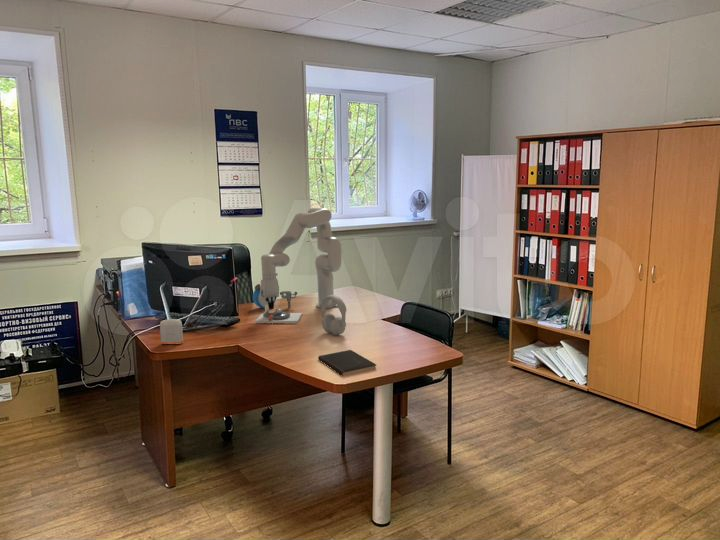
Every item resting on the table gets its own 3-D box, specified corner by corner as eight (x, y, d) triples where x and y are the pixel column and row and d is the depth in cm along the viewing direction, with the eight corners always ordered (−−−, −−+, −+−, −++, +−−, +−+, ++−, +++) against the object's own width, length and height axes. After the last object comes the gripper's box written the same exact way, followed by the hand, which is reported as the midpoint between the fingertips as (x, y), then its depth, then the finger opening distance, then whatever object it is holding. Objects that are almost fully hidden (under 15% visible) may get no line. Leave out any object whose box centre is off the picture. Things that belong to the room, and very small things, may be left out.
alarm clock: (257, 310, 328) (255, 285, 326) (252, 308, 333) (251, 284, 331) (277, 307, 336) (275, 282, 333) (272, 305, 341) (271, 281, 338)
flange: (293, 314, 310) (293, 303, 309) (283, 320, 299) (283, 308, 298) (269, 312, 315) (269, 302, 314) (259, 318, 304) (258, 307, 303)
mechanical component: (297, 308, 331) (296, 292, 330) (280, 308, 332) (279, 292, 330) (298, 307, 334) (297, 291, 333) (281, 307, 335) (280, 291, 333)
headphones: (351, 336, 272) (350, 296, 268) (338, 339, 267) (337, 299, 264) (329, 329, 286) (328, 291, 282) (317, 331, 281) (315, 293, 278)
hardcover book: (350, 354, 247) (350, 349, 246) (376, 369, 227) (376, 364, 226) (318, 361, 239) (317, 355, 239) (342, 377, 219) (341, 371, 219)
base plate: (302, 315, 314) (301, 307, 314) (297, 323, 298) (297, 315, 297) (262, 315, 315) (261, 308, 315) (255, 324, 299) (255, 315, 298)
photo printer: (184, 342, 268) (182, 317, 266) (182, 345, 264) (180, 319, 262) (162, 343, 268) (160, 318, 266) (160, 345, 264) (158, 320, 261)
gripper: (276, 273, 315) (278, 305, 318) (253, 277, 305) (256, 310, 309) (284, 275, 310) (286, 307, 313) (261, 279, 300) (263, 312, 303)
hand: (271, 308), depth 311 cm, fingers closed
